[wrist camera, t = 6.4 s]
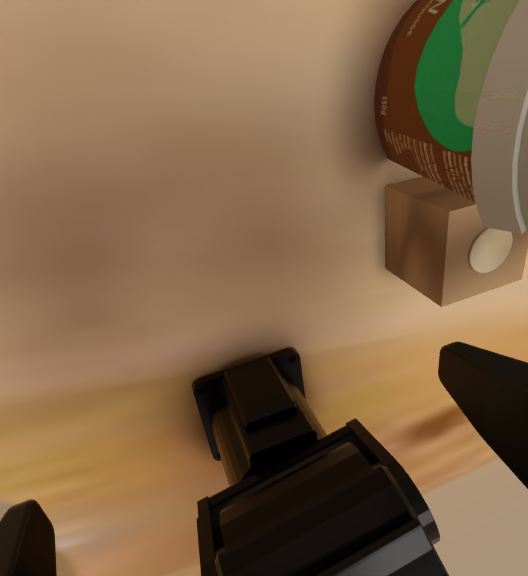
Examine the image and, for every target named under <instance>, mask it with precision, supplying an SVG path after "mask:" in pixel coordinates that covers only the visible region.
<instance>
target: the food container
mask: <svg viewBox="0 0 528 576" xmlns="http://www.w3.org/2000/svg"><path fill="white" fill-rule="evenodd" d="M374 104H375V120H376V125H377V131H378V135H379V138H380V141H381V144H382V147H383V148H384V150H385V152H386V154H387V156H388V158H389V159H390V160H392V161H394V162H396V163H398V164H400V165H402V166H404V167H406V168H408V169H410V170H412V171H414V172H415V173H417V174H419V175H421V176H423V177H425V178H427V179H429V180H431V181H433V182H435V183H437V184H439V185H441V186H443V187H445V188H447V189H449V190H451V191H453V192H455V193H457V194H459V195H461V196H463V197H465V198H467V199H469V200H471V201H473V202H475V203H476V205H477V210H478V212H479V215H480V217H481V220H482V222H483V225H484V227H487V228H492V229H497V230H503V231H508V232H513V233H518V234H523V233H524V232H525V231H526V229H527V230H528V0H417V1H416V2H415V3H414V4H413V5H412V6H411V7H410V9H409V10H408V11H407V12H406V13H405V14H404V16H403V17H402V19H401V20H400V22H399V23H398V25H397V26H396V28H395V30H394V31H393V33H392V35H391V37H390V39H389V41H388V44H387V46H386V48H385V51H384V54H383V57H382V60H381V63H380V66H379V70H378V75H377V80H376V87H375V100H374Z"/></svg>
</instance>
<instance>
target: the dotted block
mask: <svg viewBox="0 0 528 576" xmlns="http://www.w3.org/2000/svg"><path fill="white" fill-rule="evenodd" d="M527 249H528V230H527V229H526V231H525V232H524V233H523V234H518V233H513V232H508V231H503V230H497V229H492V228H487V227H484V225H483V222H482V220H481V217H480V215H479V212H478V210H477V205H476V203H475V202H473V201H471V200H469V199H467V198H465V197H463V196H461V195H459V194H457V193H455V192H453V191H451V190H449V189H447V188H445V187H443V186H441V185H439V184H437V183H435V182H433V181H431V180H429V179H427V178H425V177H423V176H422V177H418V178H415V179H411V180H407V181H403V182H399V183H395V184H392V185H388V186H385V268H386V269H387V270H389V271H390V272H392V273H393V274H394V275H396V276H397V277H399V278H400V279H402V280H403V281H405V282H406V283H408V284H409V285H410V286H412V287H413V288H415V289H416V290H418V291H419V292H421V293H422V294H423V295H425V296H426V297H428V298H429V299H431V300H432V301H434V302H435V303H437V304H438V305H439V306H441V307H443V306H446V305H449V304H451V303H454V302H457V301H460V300H463V299H466V298H469V297H472V296H475V295H478V294H480V293H483V292H486V291H489V290H492V289H495V288H498V287H501V286H504V285H507V284H509V283H512V282H515V281H518V280H521V279H522V276H523V270H524V265H525V260H526V254H527Z"/></svg>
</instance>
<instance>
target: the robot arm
mask: <svg viewBox="0 0 528 576" xmlns="http://www.w3.org/2000/svg"><path fill="white" fill-rule="evenodd" d="M290 356H293V357H292V358H290V359H288V358H289V357H290ZM438 375H439V379H440V381H441V383H442V384H443V386H444V387H445V388H446V390H447V391H448V393H449V394H450V395H451V397H452V398H453V399H454V401H455V402H456V403H457V405H458V406H459V407H460V409H461V410H462V412H463V413H464V414H465V416H466V417H467V418H468V420H469V421H470V422H471V424H472V425H473V427H474V428H475V429H476V430H477V432H478V433H479V434H480V436H481V437H482V438H483V439H484V440H485V441H486V443H487V444H488V445H489V446H490V447H491V448H492V449H493V451H494V452H495V453H496V454H497V455H498V456H499V457H500V458H501V460H502V461H503V462H504V463H505V464H506V465H507V466H508V467H509V468H510V470H511V471H512V472H513V473H514V474H515V475H516V476H517V477H518V479H519V480H520V481H521V482H522V483H523V484H524V485H525V486H526V487H527V489H528V363H527V362H524V361H520V360H517V359H514V358H511V357H507V356H504V355H501V354H498V353H494V352H491V351H488V350H485V349H481V348H478V347H475V346H472V345H468V344H465V343H462V342H453V343H451V344H448V345H445V346H443V347H442V348H441V350H440V356H439V369H438ZM200 387H204V388H203V389H199V388H200ZM192 389H193V393H194V396H195V399H196V403H197V406H198V409H199V412H200V416H201V419H202V422H203V425H204V429H205V432H206V435H207V438H208V442H209V445H210V448H211V452H212V455H213V458H214V459H215V460H217V461H220V460H222V463H223V466H224V469H225V473H226V476H227V479H228V482H229V485H230V487H228V488H227V489H225V490H223V491H221V492H219V493H217V494H215V495H213V496H211V497H210V498H209V497H208V496H207V497H205V498H203V499H201V500H199V501H198V502H197V505H198V518H197V529H198V542H199V554H200V566H201V576H449V575H448V573H447V571H446V569H445V567H444V565H443V564H442V562H441V560H440V558H439V556H438V554H437V552H436V550H435V548H434V547H433V544H435V543H437V542H438V541H440V535H439V532H438V528H437V525H436V523H435V520H434V518H433V516H432V514H431V512H430V510H429V508H428V506H427V504H426V502H425V500H424V499H423V497H422V495H421V494H420V492H419V490H418V489H417V487H416V486H415V484H414V483H413V481H412V480H411V478H410V477H409V475H408V474H407V473H406V471H405V470H404V469H403V467H402V466H401V465H400V464H399V463H398V462H397V460H396V459H395V458H394V457H393V456H392V455H391V454H390V453H389V452H388V451H387V450H386V449H385V448H384V447H383V446H382V445H381V444H380V443H379V442H378V441H377V440H376V439H375V438H374V437H373V436H372V435H371V434H370V433H369V432H368V431H367V430H366V428H365V427H364V426H363V425H362V424H361V423H360V422H359V421H358V420H357V419H356V418H355V419H353V420H351V421H349V422H347V423H346V426H344V427H342V428H340V429H338V430H336V431H334V432H332V433H331V434H329V435H327V434H326V432H325V431H324V429H323V427H322V426H321V424H320V423H319V421H318V419H317V418H316V416H315V415H314V413H313V411H312V410H311V408H310V407H309V405H308V403H307V402H306V400H305V393H304V385H303V378H302V370H301V362H300V356H299V354H298V352H297V351H296V350H295V349H293V348H290V349H286V350H283V351H281V352H278V353H275V354H272V355H269V356H266V357H263V358H260V359H257V360H254V361H251V362H248V363H245V364H242V365H239V366H236V367H233V368H230V369H227V370H225V371H222V372H219V373H216V374H213V375H210V376H207V377H204V378H201V379H198V380H196V381H195V382H194V383H193V385H192ZM0 576H57V575H56V552H55V534H54V529H53V526H52V523H51V522H50V520H49V519H48V517H47V516H46V514H45V513H44V511H43V510H42V508H41V507H40V505H39V504H38V503H37V501H35V500H33V499H32V500H28V501H25V502H22V503H19V504H17V505H14V506H12V507H10V508H9V509H8V510H7V512H6V513H5V515H4V516H3V518H2V519H1V521H0Z"/></svg>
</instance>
